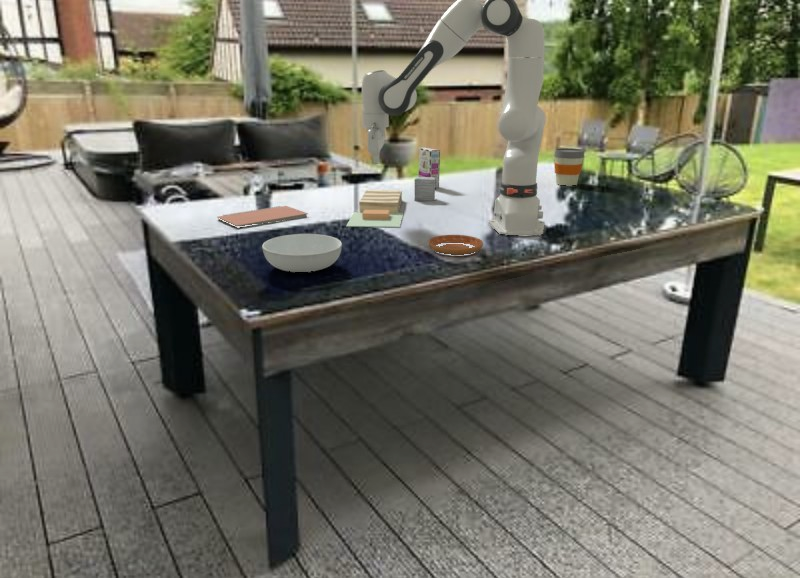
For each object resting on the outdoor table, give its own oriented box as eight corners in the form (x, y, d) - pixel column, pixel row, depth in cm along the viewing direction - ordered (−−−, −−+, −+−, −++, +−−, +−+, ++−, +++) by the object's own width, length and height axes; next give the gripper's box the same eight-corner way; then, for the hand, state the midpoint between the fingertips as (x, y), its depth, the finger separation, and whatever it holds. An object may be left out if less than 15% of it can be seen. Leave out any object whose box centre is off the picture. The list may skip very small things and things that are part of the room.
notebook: (285, 209, 236) (284, 204, 236) (308, 218, 224) (307, 212, 223) (216, 221, 221) (215, 215, 220) (236, 230, 208) (236, 224, 207)
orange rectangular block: (389, 209, 223) (389, 215, 224) (364, 209, 224) (364, 215, 225) (388, 213, 218) (388, 219, 218) (362, 213, 218) (362, 219, 219)
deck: (397, 213, 228) (397, 202, 227) (359, 213, 229) (359, 202, 228) (401, 200, 249) (401, 190, 247) (366, 200, 250) (366, 190, 248)
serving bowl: (319, 284, 157) (318, 258, 154) (248, 275, 164) (246, 249, 162) (355, 261, 175) (354, 237, 173) (290, 253, 182) (288, 230, 180)
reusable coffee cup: (546, 182, 284) (549, 148, 278) (571, 181, 287) (574, 147, 282) (561, 187, 272) (564, 152, 267) (586, 186, 276) (590, 151, 271)
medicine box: (434, 198, 252) (435, 177, 249) (434, 201, 248) (434, 179, 245) (415, 198, 252) (415, 176, 249) (414, 200, 248) (414, 178, 245)
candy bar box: (439, 188, 271) (440, 149, 266) (429, 189, 269) (430, 150, 264) (428, 184, 281) (428, 146, 275) (417, 185, 279) (418, 147, 273)
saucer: (457, 240, 195) (458, 231, 194) (494, 252, 183) (494, 242, 182) (417, 249, 186) (417, 239, 185) (452, 262, 174) (453, 252, 173)
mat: (399, 227, 209) (399, 226, 209) (346, 226, 210) (346, 225, 210) (403, 213, 228) (403, 212, 228) (354, 212, 229) (354, 212, 229)
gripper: (382, 124, 201) (382, 168, 206) (387, 119, 220) (387, 158, 225) (362, 124, 201) (363, 168, 206) (369, 119, 220) (370, 158, 225)
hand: (376, 163), depth 216 cm, fingers closed
